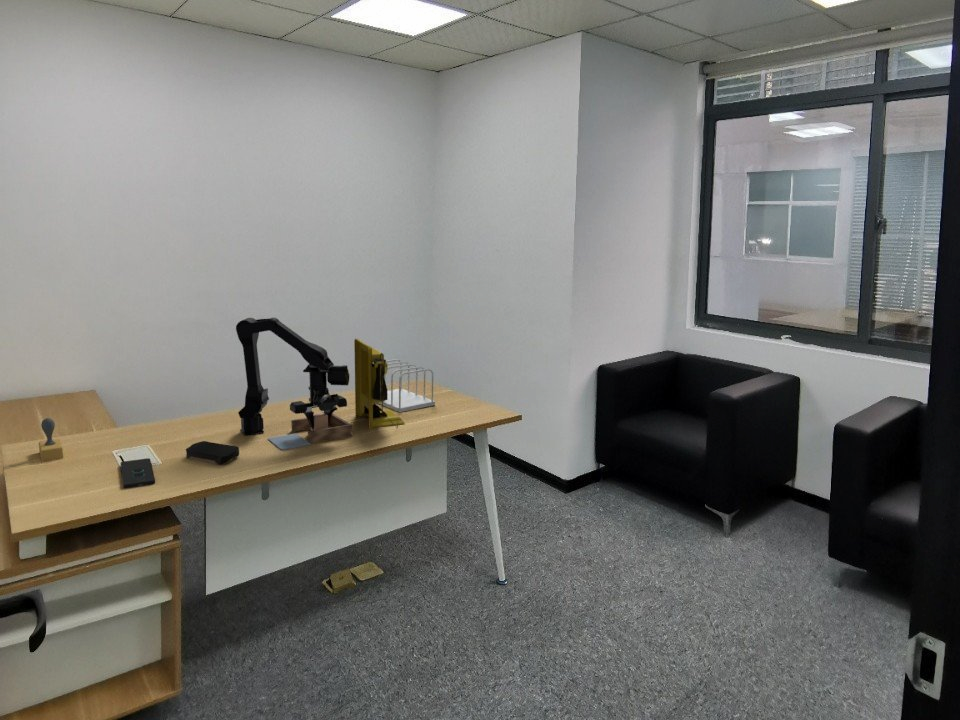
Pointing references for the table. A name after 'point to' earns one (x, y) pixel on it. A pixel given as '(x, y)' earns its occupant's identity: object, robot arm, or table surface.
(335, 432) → the brown open boxy piece
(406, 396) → the file sorter
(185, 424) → the table surface
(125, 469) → the smart home device
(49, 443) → the rubber stamp
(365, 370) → the vintage telephone
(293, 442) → the slate mat
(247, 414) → the robot arm
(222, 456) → the black sponge
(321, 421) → the terracotta block
